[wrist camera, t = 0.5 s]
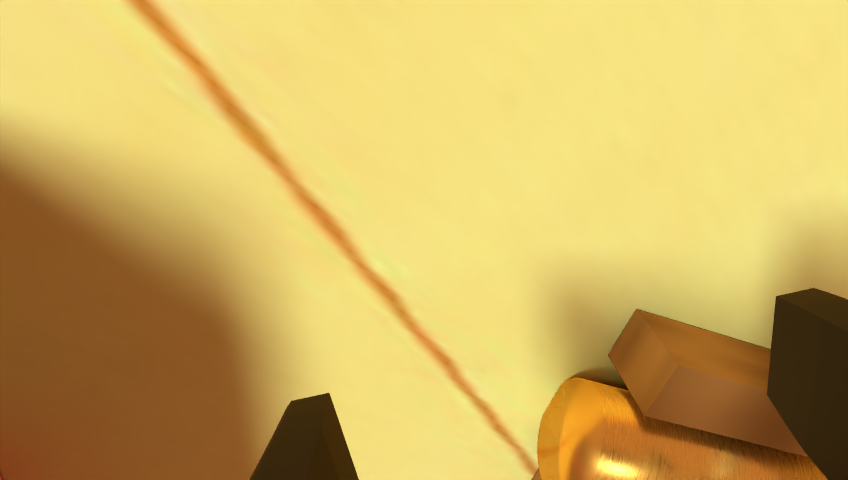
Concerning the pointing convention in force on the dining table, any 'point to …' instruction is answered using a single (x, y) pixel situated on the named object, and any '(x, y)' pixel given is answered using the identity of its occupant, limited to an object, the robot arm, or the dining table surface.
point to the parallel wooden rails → (699, 381)
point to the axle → (646, 444)
